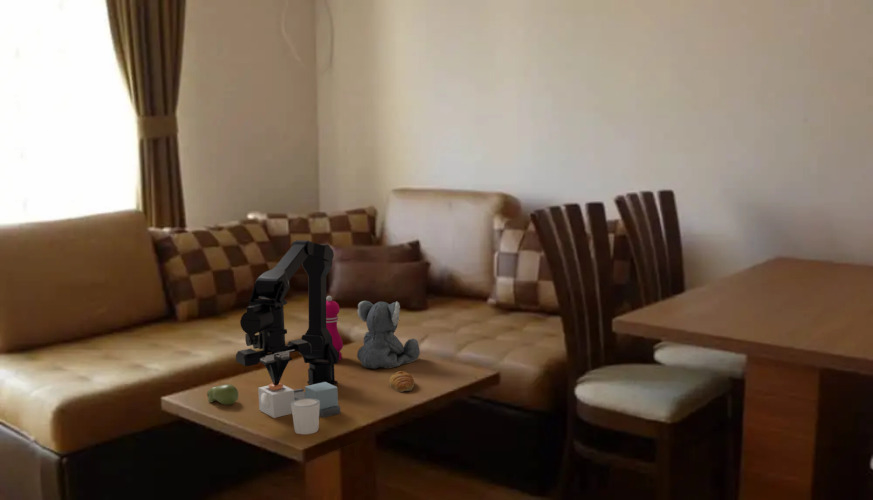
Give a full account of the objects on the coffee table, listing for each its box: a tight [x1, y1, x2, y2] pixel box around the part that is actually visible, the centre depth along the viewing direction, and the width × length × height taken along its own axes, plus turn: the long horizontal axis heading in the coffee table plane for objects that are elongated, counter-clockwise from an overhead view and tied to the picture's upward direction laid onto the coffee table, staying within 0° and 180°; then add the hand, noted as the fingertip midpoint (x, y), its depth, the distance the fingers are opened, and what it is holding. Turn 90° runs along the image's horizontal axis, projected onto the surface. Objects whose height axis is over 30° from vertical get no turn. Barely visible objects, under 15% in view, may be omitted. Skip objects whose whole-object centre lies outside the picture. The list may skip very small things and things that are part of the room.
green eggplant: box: [206, 383, 239, 406], centre depth 237 cm, size 6×5×10 cm
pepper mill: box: [326, 295, 344, 361], centre depth 275 cm, size 7×7×20 cm
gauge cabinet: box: [257, 384, 295, 419], centre depth 228 cm, size 6×8×6 cm
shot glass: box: [291, 398, 320, 435], centre depth 215 cm, size 7×7×7 cm
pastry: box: [388, 370, 415, 393], centre depth 246 cm, size 9×7×4 cm
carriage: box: [304, 382, 339, 417], centre depth 228 cm, size 6×6×6 cm
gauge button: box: [268, 382, 284, 392], centre depth 228 cm, size 4×4×6 cm
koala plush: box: [356, 300, 420, 370], centre depth 270 cm, size 17×18×20 cm
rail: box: [293, 388, 341, 419], centre depth 233 cm, size 5×20×2 cm, turn 38°
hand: (275, 384), depth 228 cm, fingers closed, pressing on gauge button
